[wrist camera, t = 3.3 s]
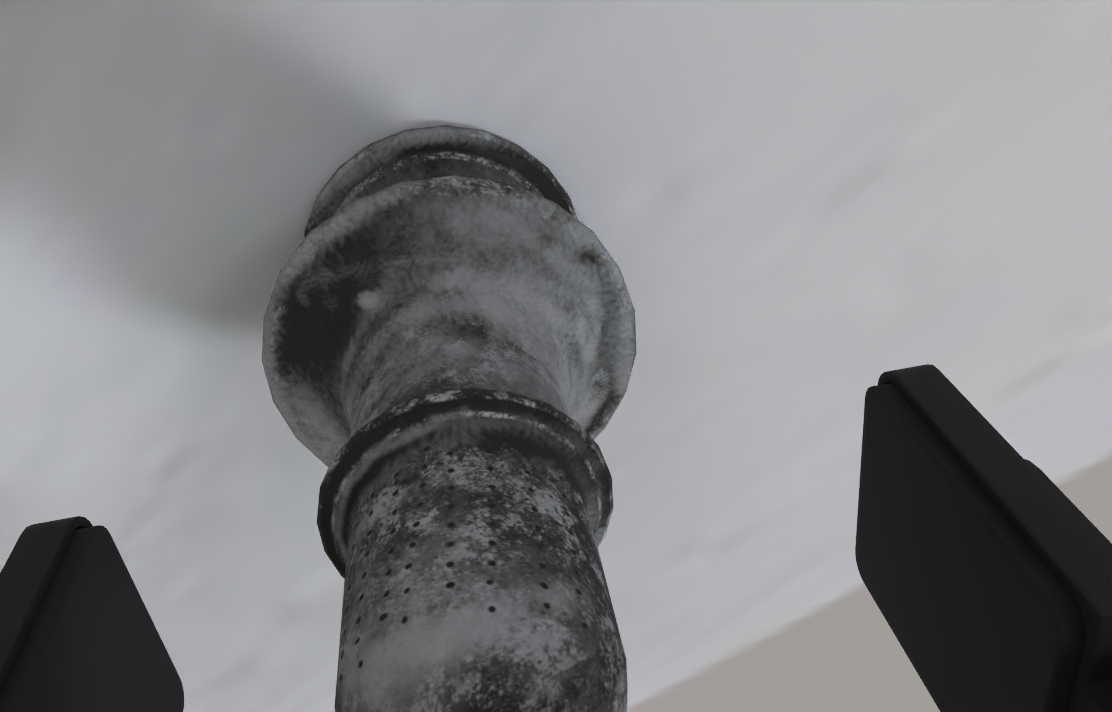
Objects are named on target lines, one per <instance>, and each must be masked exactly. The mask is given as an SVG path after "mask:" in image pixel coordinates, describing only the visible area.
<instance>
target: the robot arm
mask: <svg viewBox="0 0 1112 712" xmlns="http://www.w3.org/2000/svg"><path fill="white" fill-rule="evenodd" d="M855 551H856V561H857V566H858V570H859V572H860V575H861V578H862V580H863V582H864V583H865V585H866V587H867V589H868V590H869V592H870V593H871V595H872V597H873V599H874V600H875V602H876V604H877V605H878V607H879V609H880V610H881V612H882V614H883V615H884V617H885V619H886V621H887V622H888V624H889V626H890V627H891V629H892V630H893V632H894V634H895V636H896V637H897V639H898V641H899V642H900V644H901V646H902V648H903V649H904V651H905V653H906V654H907V656H908V658H909V659H910V661H911V663H912V664H913V666H914V668H915V669H916V671H917V673H918V674H919V676H920V678H921V679H922V681H923V683H924V685H925V686H926V688H927V690H928V691H929V693H930V694H931V696H932V698H933V700H934V702H935V703H936V705H937V707H938V708H939V710H940V712H1112V544H1111V543H1110V542H1109V540H1107V538H1106V537H1105V536H1104V535H1103V534H1102V533H1101V532H1100V531H1099V530H1098V529H1097V528H1096V527H1095V526H1094V525H1093V524H1092V523H1091V522H1090V521H1089V520H1088V519H1087V518H1086V517H1085V516H1084V514H1082V512H1081V511H1079V510H1078V508H1077V507H1076V506H1075V505H1074V504H1073V503H1072V502H1071V501H1070V500H1069V499H1068V498H1067V497H1066V496H1065V495H1064V494H1063V493H1062V492H1061V491H1060V490H1059V488H1058V487H1057V486H1056V485H1055V484H1054V483H1053V482H1052V481H1051V480H1050V479H1049V478H1048V477H1047V476H1046V475H1045V474H1044V473H1043V472H1042V471H1041V470H1040V469H1039V468H1038V467H1037V466H1035V465H1034V464H1033V463H1032V462H1030V461H1028V460H1025V459H1023V458H1022V457H1021V456H1020V455H1019V454H1018V453H1017V452H1016V451H1015V449H1014V448H1013V447H1012V446H1011V445H1010V444H1009V443H1008V442H1007V441H1006V440H1005V439H1004V438H1003V437H1002V436H1001V435H1000V434H999V433H998V432H997V431H996V429H995V428H994V427H993V426H992V425H991V424H990V423H989V422H988V421H987V420H986V419H985V418H984V417H983V416H982V415H981V414H980V413H979V412H978V411H977V410H976V408H975V407H974V406H973V405H972V404H971V403H970V402H969V401H968V400H967V399H966V398H965V397H964V396H963V395H962V394H961V393H960V392H959V391H958V390H957V388H956V387H955V386H954V385H953V384H952V383H951V382H950V381H949V380H948V379H947V378H946V377H945V376H944V375H943V374H942V373H941V372H940V371H939V370H938V369H937V368H936V367H935V366H933V365H928V364H927V365H921V366H916V367H910V368H905V369H899V370H894V371H888V372H884V373H883V374H881V376H880V378H879V381H878V386H872V387H870V388H868V390H867V392H866V396H865V409H864V424H863V440H862V456H861V471H860V487H859V502H858V518H857V533H856V549H855ZM183 709H184V692H183V686H182V682H181V680H180V677H179V675H178V673H177V671H176V669H175V667H174V665H173V663H172V661H171V659H170V656H169V654H168V652H167V650H166V648H165V646H164V644H163V642H162V640H161V638H160V636H159V634H158V632H157V630H156V628H155V626H154V623H153V621H152V619H151V617H150V615H149V613H148V611H147V609H146V607H145V605H144V603H143V601H142V599H141V597H140V595H139V593H138V590H137V588H136V586H135V584H134V582H133V580H132V578H131V576H130V574H129V572H128V570H127V568H126V566H125V564H124V562H123V560H122V557H121V555H120V553H119V551H118V549H117V547H116V545H115V543H114V541H113V539H112V537H111V535H110V533H109V532H108V530H107V529H106V528H105V527H104V526H100V525H99V526H92V524H91V523H90V521H89V520H87V519H86V518H85V517H80V516H78V517H72V518H67V519H61V520H56V521H50V522H44V523H39V524H33V525H30V526H28V527H26V528H25V530H24V531H23V532H22V534H21V535H20V537H19V539H18V541H17V543H16V545H15V547H14V549H13V550H12V552H11V554H10V556H9V558H8V560H7V562H6V564H5V565H4V567H3V569H2V571H1V573H0V712H183Z"/></svg>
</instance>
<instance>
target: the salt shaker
mask: <svg viewBox="0 0 1112 712" xmlns="http://www.w3.org/2000/svg"><path fill="white" fill-rule="evenodd" d="M635 355H636V331H635V310H634V307H633V305H632V302H631V299H630V296H629V293H628V290H627V287H626V284H625V282H624V279H623V276H622V273H621V270H620V268H619V267H618V265H617V264H616V262H615V261H614V260H613V258H612V257H611V256H610V254H609V253H608V252H607V250H606V249H605V247H604V246H603V245H602V243H601V242H600V241H599V239H598V238H597V236H596V235H595V234H594V232H593V231H592V230H590V229H589V228H588V227H586V226H585V225H584V224H583V223H581V222H580V221H579V220H578V219H577V216H576V214H575V211H574V208H573V205H572V203H571V200H570V197H569V196H568V195H567V193H566V192H565V190H564V189H563V188H562V186H561V185H560V184H559V182H558V181H557V179H556V178H555V177H554V175H553V174H552V173H551V171H550V170H549V169H548V168H547V167H546V166H545V165H543V164H542V163H541V162H539V161H538V160H537V159H536V158H534V157H533V156H532V155H531V154H529V153H528V152H527V151H526V150H524V149H523V148H522V147H520V146H519V145H516V144H514V143H512V142H509V141H507V140H505V139H502V138H500V137H497V136H495V135H493V134H490V133H488V132H486V131H481V130H474V129H467V128H460V127H453V126H446V125H445V126H437V127H428V128H419V129H410V130H405V131H403V132H400V133H398V134H395V135H392V136H390V137H387V138H385V139H382V140H380V141H377V142H375V143H372V144H370V145H369V146H367V147H366V148H365V149H363V150H362V151H361V152H359V153H358V154H357V155H355V156H354V157H353V158H351V159H350V160H349V161H347V162H346V163H345V164H343V165H342V166H341V167H340V168H339V169H338V170H337V171H336V173H335V174H334V175H333V177H332V178H331V179H330V181H329V182H328V183H327V185H326V186H325V187H324V189H323V190H322V191H321V193H320V194H319V195H318V197H317V200H316V202H315V205H314V208H313V211H312V213H311V216H310V219H309V221H308V224H307V227H306V229H305V239H304V240H303V241H302V243H301V244H300V245H299V247H298V248H297V249H296V251H295V252H294V253H293V254H292V256H291V257H290V258H289V260H288V261H287V262H286V264H285V265H284V266H283V268H282V269H281V270H280V273H279V275H278V278H277V281H276V284H275V286H274V289H273V292H272V294H271V297H270V300H269V303H268V305H267V308H266V311H265V313H264V320H263V345H262V363H263V366H264V370H265V374H266V377H267V381H268V384H269V388H270V391H271V395H272V399H273V402H274V404H275V405H276V407H277V408H278V410H279V412H280V413H281V415H282V416H283V418H284V419H285V421H286V423H287V424H288V426H289V427H290V429H291V430H292V432H293V434H294V435H295V437H296V438H297V439H298V440H299V441H300V442H301V443H302V444H303V445H304V446H306V447H307V448H308V449H309V450H310V451H311V452H312V453H313V454H314V455H315V456H317V457H318V458H319V459H320V460H321V461H322V462H323V463H324V464H325V465H326V466H328V467H329V469H328V471H327V473H326V475H325V477H324V480H323V482H322V484H321V486H320V493H319V504H318V515H317V525H318V528H319V532H320V536H321V540H322V543H323V547H324V551H325V552H326V554H327V555H328V557H329V558H330V560H331V561H332V563H333V564H334V566H335V567H336V569H337V570H338V572H339V573H340V575H341V576H342V577H343V578H344V579H345V583H344V596H343V608H342V621H341V634H340V646H339V659H338V672H337V684H336V697H335V712H626V711H627V666H626V657H625V653H624V649H623V645H622V641H621V638H620V634H619V630H618V626H617V622H616V618H615V614H614V610H613V606H612V603H611V599H610V595H609V591H608V587H607V583H606V579H605V575H604V571H603V568H602V564H601V560H600V556H599V552H598V546H599V545H600V543H601V541H602V540H603V538H604V537H605V534H606V531H607V527H608V524H609V520H610V517H611V513H612V510H613V495H612V478H611V474H610V472H609V469H608V467H607V465H606V462H605V460H604V457H603V455H602V453H601V450H600V448H599V446H598V445H597V443H596V442H595V441H594V439H595V438H596V437H597V436H598V435H599V434H600V433H601V432H602V431H603V430H604V429H605V427H606V425H607V424H608V422H609V420H610V419H611V417H612V415H613V413H614V412H615V410H616V408H617V407H618V405H619V403H620V401H621V400H622V398H623V396H624V395H625V393H626V390H627V386H628V382H629V378H630V375H631V371H632V367H633V363H634V359H635Z"/></svg>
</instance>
